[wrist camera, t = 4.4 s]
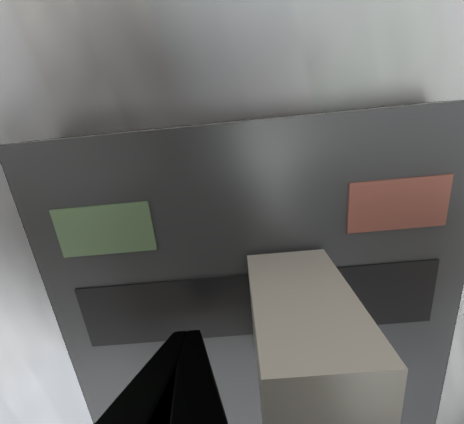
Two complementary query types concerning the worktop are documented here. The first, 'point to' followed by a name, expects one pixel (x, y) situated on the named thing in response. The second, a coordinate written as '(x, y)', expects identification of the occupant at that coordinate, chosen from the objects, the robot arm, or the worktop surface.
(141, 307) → the switch panel
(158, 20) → the worktop surface
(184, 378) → the robot arm
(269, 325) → the off-white switch lever
